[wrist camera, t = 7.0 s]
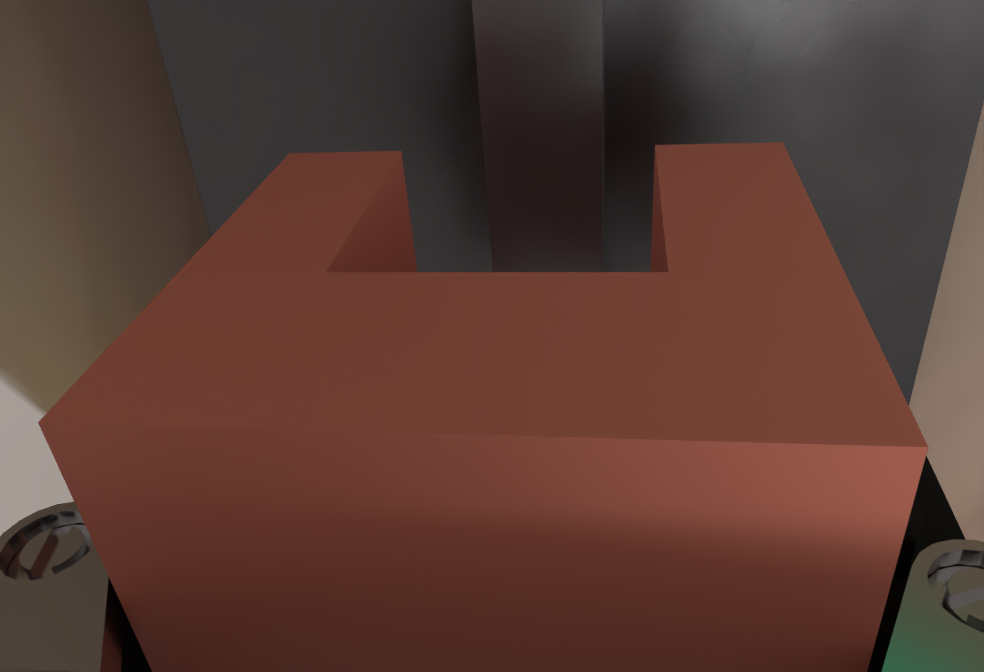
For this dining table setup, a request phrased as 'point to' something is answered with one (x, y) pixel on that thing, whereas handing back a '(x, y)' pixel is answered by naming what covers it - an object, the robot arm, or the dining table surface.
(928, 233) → the rail
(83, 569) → the robot arm
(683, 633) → the block
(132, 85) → the dining table surface
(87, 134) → the dining table surface
